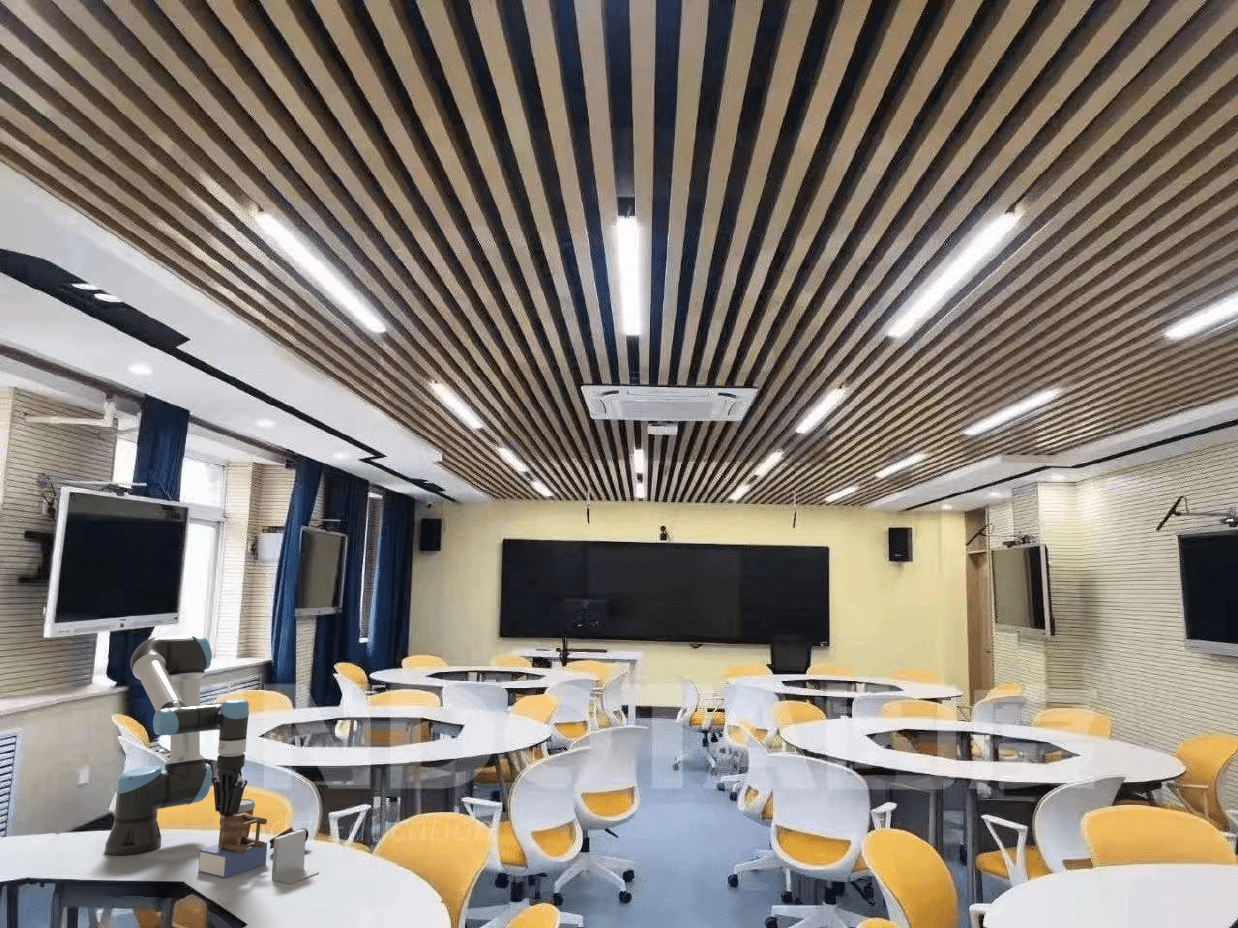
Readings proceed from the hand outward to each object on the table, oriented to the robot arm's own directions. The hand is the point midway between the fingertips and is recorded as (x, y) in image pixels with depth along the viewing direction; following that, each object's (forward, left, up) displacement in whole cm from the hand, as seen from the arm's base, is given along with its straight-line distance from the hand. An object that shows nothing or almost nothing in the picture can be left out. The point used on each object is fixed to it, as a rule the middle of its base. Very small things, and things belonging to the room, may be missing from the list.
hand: (224, 837), depth 246 cm
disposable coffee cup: (-17, +18, -8) cm, 26 cm away
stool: (+7, 0, -2) cm, 7 cm away
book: (+4, 0, -8) cm, 9 cm away
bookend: (+25, +4, -8) cm, 27 cm away
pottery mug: (+7, +19, -8) cm, 21 cm away
